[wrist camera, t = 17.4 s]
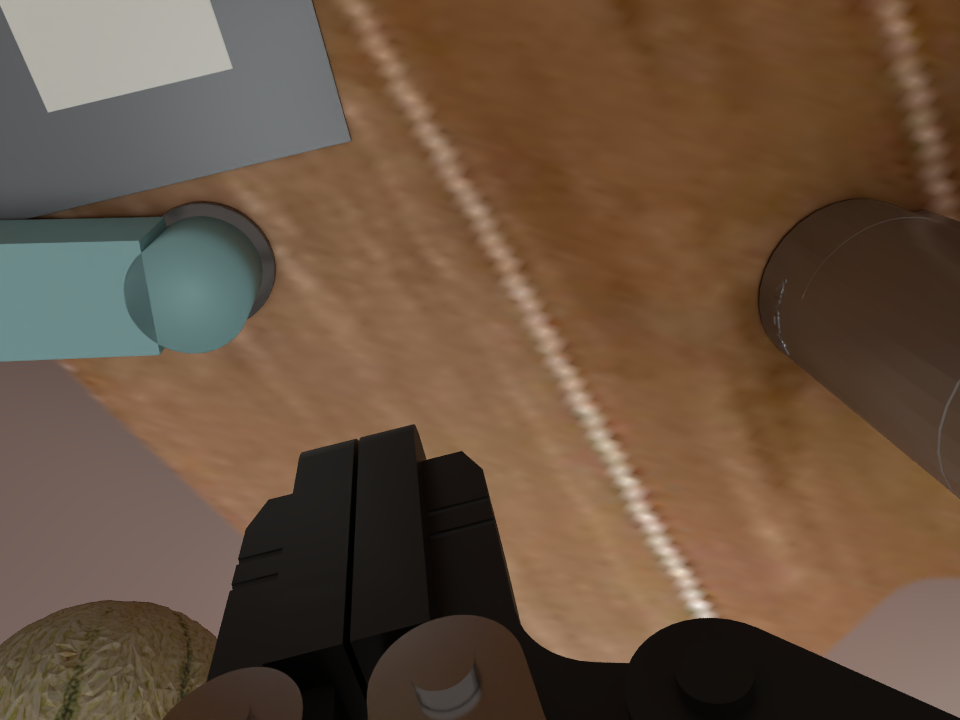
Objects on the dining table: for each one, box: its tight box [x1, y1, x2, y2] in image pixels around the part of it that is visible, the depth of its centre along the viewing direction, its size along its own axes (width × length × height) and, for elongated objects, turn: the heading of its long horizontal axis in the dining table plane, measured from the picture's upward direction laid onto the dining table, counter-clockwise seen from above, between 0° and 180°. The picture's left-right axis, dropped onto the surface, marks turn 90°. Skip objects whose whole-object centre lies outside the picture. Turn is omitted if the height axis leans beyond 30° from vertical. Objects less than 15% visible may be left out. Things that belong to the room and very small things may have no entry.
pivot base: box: [161, 202, 275, 319], centre depth 35 cm, size 6×6×1 cm
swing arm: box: [0, 216, 263, 361], centre depth 32 cm, size 5×20×4 cm, turn 89°
